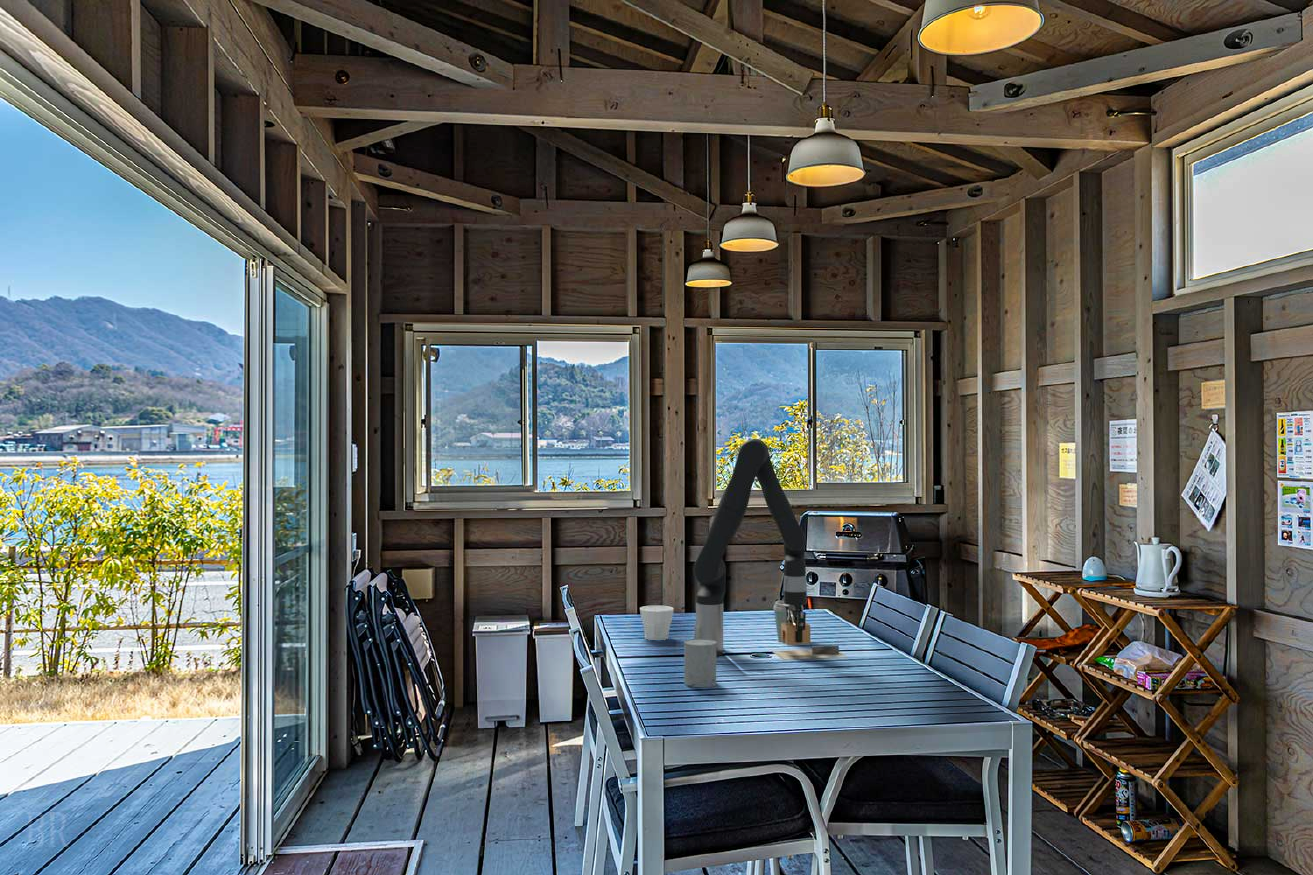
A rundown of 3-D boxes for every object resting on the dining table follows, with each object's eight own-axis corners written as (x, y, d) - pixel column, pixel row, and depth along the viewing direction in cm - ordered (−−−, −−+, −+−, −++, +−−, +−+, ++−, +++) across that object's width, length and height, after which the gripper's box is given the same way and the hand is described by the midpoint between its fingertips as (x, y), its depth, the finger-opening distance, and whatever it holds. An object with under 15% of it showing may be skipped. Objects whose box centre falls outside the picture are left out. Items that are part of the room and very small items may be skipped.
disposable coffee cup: (802, 642, 338) (802, 600, 338) (804, 648, 327) (804, 605, 327) (772, 641, 339) (772, 599, 339) (773, 647, 328) (773, 604, 328)
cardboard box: (804, 639, 314) (804, 621, 314) (810, 643, 308) (810, 625, 308) (781, 640, 312) (781, 622, 312) (786, 644, 306) (786, 626, 307)
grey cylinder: (694, 689, 272) (694, 646, 272) (678, 681, 280) (678, 640, 280) (722, 685, 276) (722, 643, 276) (705, 678, 284) (706, 637, 285)
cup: (680, 637, 345) (680, 607, 345) (661, 643, 334) (662, 612, 334) (651, 633, 351) (651, 604, 351) (632, 639, 341) (632, 609, 341)
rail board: (783, 663, 303) (783, 651, 303) (771, 655, 315) (772, 643, 315) (847, 661, 307) (847, 649, 307) (834, 653, 319) (834, 641, 319)
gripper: (813, 592, 304) (814, 644, 304) (799, 585, 318) (799, 635, 318) (791, 592, 303) (791, 645, 302) (777, 586, 317) (778, 636, 317)
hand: (795, 640), depth 310 cm, fingers closed on cardboard box, 6 cm apart
